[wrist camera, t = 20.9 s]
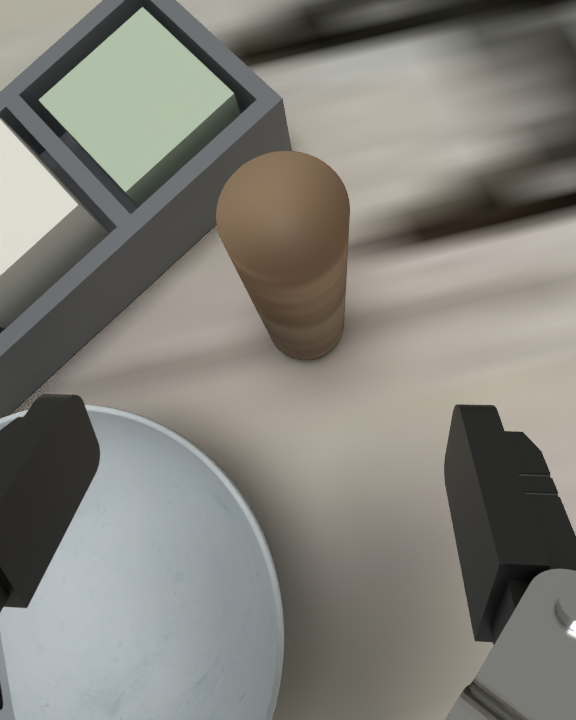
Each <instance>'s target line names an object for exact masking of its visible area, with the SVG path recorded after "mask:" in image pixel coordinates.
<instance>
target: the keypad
mask: <svg viewBox="0 0 576 720" xmlns="http://www.w3.org/2000/svg"><path fill="white" fill-rule="evenodd" d="M142 7H143V8H144V9H145V10H146V11H147V12H149V13H150V14H151V15H152V16H153V17H154V18H155V19H156V20H157V21H158V22H159V23H160V24H161V25H162V26H163V27H164V28H165V29H167V30H168V31H169V32H170V33H171V34H172V35H173V36H174V37H175V38H176V39H177V40H178V41H179V42H180V43H181V44H182V45H184V46H185V47H186V48H187V49H188V50H189V51H190V52H191V53H192V54H193V55H194V56H195V57H196V58H197V59H198V60H199V61H201V62H202V63H203V64H204V65H205V66H206V67H207V68H208V69H209V70H210V71H211V72H212V73H213V74H214V75H215V76H216V77H217V78H219V79H220V80H221V81H222V82H223V83H224V84H225V85H226V86H227V87H228V88H229V89H230V90H231V91H232V92H233V93H234V94H235V97H236V101H237V104H238V107H239V110H240V113H241V114H240V115H239V116H238V117H237V118H236V119H235V120H234V121H233V122H232V123H231V124H230V125H228V126H227V127H226V128H225V129H224V130H223V131H222V132H221V133H220V134H219V135H217V136H216V137H215V138H214V139H213V140H212V141H211V142H210V143H209V144H208V145H206V146H205V147H204V148H203V149H202V150H201V151H200V152H199V153H198V154H197V155H196V156H194V157H193V158H192V159H191V160H190V161H189V162H188V163H187V164H186V165H185V166H183V167H182V168H181V169H180V170H179V171H178V172H177V173H176V174H175V175H174V176H172V177H171V178H170V179H169V180H168V181H167V182H166V183H165V184H164V185H163V186H161V187H160V188H159V189H158V190H157V191H156V192H155V193H154V194H153V195H152V196H151V197H149V198H148V199H147V200H146V201H145V202H144V203H143V204H142V205H141V206H140V207H138V208H137V207H136V205H135V204H134V203H133V202H132V201H131V200H130V199H129V198H128V197H127V196H126V195H125V194H124V193H123V192H122V191H121V190H120V189H119V187H118V186H117V185H116V184H115V183H114V182H113V181H112V180H111V179H110V178H109V177H108V176H107V175H106V174H105V173H104V172H103V171H102V169H101V168H100V167H99V166H98V165H97V164H96V163H95V162H94V161H93V160H92V159H91V158H90V157H89V156H88V155H87V154H86V152H85V151H84V150H83V149H82V148H81V147H80V146H79V145H78V144H77V143H76V142H75V141H74V140H73V138H72V137H71V136H70V135H69V134H68V133H67V132H66V131H65V129H64V128H63V127H62V126H61V125H60V124H59V123H58V122H57V120H56V119H55V118H54V117H53V116H52V115H51V114H50V113H49V111H48V110H47V109H46V108H45V107H44V106H43V105H42V104H41V102H40V101H39V99H40V98H41V97H42V96H43V95H45V94H46V93H47V92H48V91H49V90H50V89H51V88H52V87H54V86H55V85H56V84H57V83H58V82H59V81H60V80H61V79H62V78H64V77H65V76H66V75H67V74H68V73H69V72H70V71H71V70H73V69H74V68H75V67H76V66H77V65H78V64H79V63H80V62H81V61H83V60H84V59H85V58H86V57H87V56H88V55H89V54H90V53H91V52H93V51H94V50H95V49H96V48H97V47H98V46H99V45H100V44H102V43H103V42H104V41H105V40H106V39H107V38H108V37H109V36H110V35H112V34H113V33H114V32H115V31H116V30H117V29H118V28H119V27H121V26H122V25H123V24H124V23H125V22H126V21H127V20H128V19H129V18H131V17H132V16H133V15H134V14H135V13H136V12H137V11H138V10H140V9H141V8H142ZM0 118H1V119H2V120H3V121H4V122H5V123H6V124H8V125H9V126H10V127H11V128H12V129H13V130H14V131H15V132H16V133H17V134H18V135H19V136H20V137H21V138H22V139H23V140H24V141H25V142H26V143H28V144H29V145H30V146H31V147H32V148H33V149H34V150H35V151H36V152H37V153H38V154H39V156H40V157H41V158H42V159H43V160H44V161H45V162H46V163H47V164H48V165H49V166H50V168H51V169H52V170H53V171H54V172H55V173H56V174H57V175H58V176H59V177H60V178H61V180H62V181H63V182H64V183H65V184H66V185H67V186H68V187H69V188H70V189H71V190H72V192H73V193H74V194H75V195H76V196H77V197H78V198H79V199H80V200H81V201H82V202H83V204H84V205H85V206H86V207H87V208H88V209H89V210H90V211H91V212H92V213H93V214H94V216H95V217H96V218H97V219H98V220H99V221H100V222H101V223H102V224H103V225H104V226H105V228H106V229H107V230H108V231H109V232H110V234H109V235H108V236H107V237H106V238H104V239H103V240H102V241H101V242H100V243H99V244H98V245H97V246H96V247H95V248H93V249H92V250H91V251H90V252H89V253H88V254H87V255H86V256H85V257H84V258H83V259H81V260H80V261H79V262H78V263H77V264H76V265H75V266H74V267H73V268H72V269H70V270H69V271H68V272H67V273H66V274H65V275H64V276H63V277H62V278H61V279H59V280H58V281H57V282H56V283H55V284H54V285H53V286H52V287H51V288H50V289H49V290H47V291H46V292H45V293H44V294H43V295H42V296H41V297H40V298H39V299H38V300H36V301H35V302H34V303H33V304H32V305H31V306H30V307H29V308H28V309H27V310H25V311H24V312H23V313H22V314H21V315H20V316H19V317H18V318H17V319H16V320H15V321H13V322H12V323H11V324H10V325H9V326H8V327H7V328H6V329H5V328H2V327H0V419H1V418H3V417H6V416H8V415H9V414H10V413H12V412H13V411H14V410H15V409H16V408H17V407H18V406H19V405H20V404H21V403H22V402H24V401H25V400H26V399H27V398H28V397H29V396H30V395H31V394H32V393H33V392H34V391H36V390H37V389H38V388H39V387H40V386H41V385H42V384H43V383H44V382H45V381H46V380H47V379H49V378H50V377H51V376H52V375H53V374H54V373H55V372H56V371H57V370H58V369H59V368H61V367H62V366H63V365H64V364H65V363H66V362H67V361H68V360H69V359H70V358H71V357H73V356H74V355H75V354H76V353H77V352H78V351H79V350H80V349H81V348H82V347H83V346H84V345H86V344H87V343H88V342H89V341H90V340H91V339H92V338H93V337H94V336H95V335H96V334H98V333H99V332H100V331H101V330H102V329H103V328H104V327H105V326H106V325H107V324H108V323H110V322H111V321H112V320H113V319H114V318H115V317H116V316H117V315H118V314H119V313H120V312H122V311H123V310H124V309H125V308H126V307H127V306H128V305H129V304H130V303H131V302H132V301H133V300H135V299H136V298H137V297H138V296H139V295H140V294H141V293H142V292H143V291H144V290H145V289H147V288H148V287H149V286H150V285H151V284H152V283H153V282H154V281H155V280H156V279H157V278H159V277H160V276H161V275H162V274H163V273H164V272H165V271H166V270H167V269H168V268H169V267H170V266H172V265H173V264H174V263H175V262H176V261H177V260H178V259H179V258H180V257H181V256H182V255H184V254H185V253H186V252H187V251H188V250H189V249H190V248H191V247H192V246H193V245H194V244H196V243H197V242H198V241H199V240H200V239H201V238H202V237H203V236H204V235H205V234H206V233H207V232H209V231H210V230H211V229H212V228H213V227H214V226H215V225H216V224H217V223H216V209H217V203H218V199H219V196H220V194H221V191H222V189H223V187H224V186H225V184H226V182H227V181H228V179H229V178H230V177H231V176H232V175H233V173H234V172H235V171H236V170H237V169H239V168H240V167H241V166H242V165H244V164H245V163H247V162H248V161H250V160H252V159H254V158H256V157H258V156H261V155H264V154H267V153H271V152H277V151H292V150H291V144H290V138H289V133H288V127H287V122H286V116H285V110H284V105H283V99H282V98H281V97H280V96H279V95H278V94H277V93H276V92H275V91H274V90H272V89H271V88H270V87H269V86H268V85H267V84H266V83H265V82H264V81H263V80H262V79H261V78H259V77H258V76H257V75H256V74H255V73H254V72H253V71H252V70H251V69H250V68H249V67H248V66H246V65H245V64H244V63H243V62H242V61H241V60H240V59H239V58H238V57H237V56H236V55H234V54H233V53H232V52H231V51H230V50H229V49H228V48H227V47H226V46H225V45H224V44H223V43H221V42H220V41H219V40H218V39H217V38H216V37H215V36H214V35H213V34H212V33H211V32H210V31H208V30H207V29H206V28H205V27H204V26H203V25H202V24H201V23H200V22H199V21H198V20H197V19H195V18H194V17H193V16H192V15H191V14H190V13H189V12H188V11H187V10H186V9H185V8H183V7H182V6H181V5H180V4H179V3H178V2H177V1H176V0H103V1H102V2H101V3H99V4H98V5H97V6H96V7H95V8H94V9H93V10H92V11H91V12H89V13H88V14H87V15H86V16H85V17H84V18H83V19H82V20H80V21H79V22H78V23H77V24H76V25H75V26H74V27H73V28H71V29H70V30H69V31H68V32H67V33H66V34H65V35H64V36H63V37H61V38H60V39H59V40H58V41H57V42H56V43H55V44H54V45H52V46H51V47H50V48H49V49H48V50H47V51H46V52H45V53H43V54H42V55H41V56H40V57H39V58H38V59H37V60H36V61H34V62H33V63H32V64H31V65H30V66H29V67H28V68H27V69H26V70H24V71H23V72H22V73H21V74H20V75H19V76H18V77H17V78H15V79H14V80H13V81H12V82H11V83H10V84H9V85H8V86H6V87H5V88H4V89H3V90H2V91H1V92H0Z"/></svg>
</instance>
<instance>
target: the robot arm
mask: <svg viewBox="0 0 576 720" xmlns="http://www.w3.org/2000/svg"><path fill="white" fill-rule="evenodd" d="M99 461H100V447H99V443H98V440H97V437H96V435H95V432H94V429H93V426H92V424H91V421H90V418H89V416H88V413H87V410H86V407H85V405H84V402H83V400H82V399H81V397H80V396H78V395H54V394H44V395H41V396H39V397H38V398H37V399H36V401H35V402H34V403H33V405H32V406H31V407H30V409H29V410H28V411H27V413H26V414H25V416H24V417H17V418H16V419H14V420H13V421H12V422H10V423H9V424H8V425H6V426H5V427H4V428H2V429H1V430H0V612H1V611H2V609H3V607H15V608H27V607H28V605H29V603H30V602H31V600H32V598H33V596H34V594H35V592H36V590H37V588H38V586H39V584H40V582H41V580H42V578H43V576H44V574H45V572H46V570H47V568H48V566H49V564H50V562H51V560H52V558H53V556H54V554H55V553H56V551H57V549H58V547H59V545H60V543H61V541H62V539H63V537H64V535H65V533H66V531H67V529H68V527H69V525H70V523H71V521H72V519H73V517H74V515H75V513H76V511H77V509H78V507H79V505H80V503H81V502H82V500H83V498H84V496H85V494H86V492H87V490H88V488H89V486H90V484H91V482H92V480H93V478H94V476H95V474H96V472H97V469H98V466H99ZM444 474H445V486H446V491H447V497H448V502H449V507H450V512H451V518H452V523H453V528H454V533H455V539H456V544H457V549H458V555H459V560H460V565H461V570H462V576H463V581H464V586H465V592H466V597H467V602H468V607H469V613H470V618H471V623H472V629H473V634H474V639H475V641H483V642H493V644H494V646H493V648H492V650H491V651H490V653H489V655H488V657H487V658H486V660H485V662H484V663H483V665H482V667H481V669H480V670H479V672H478V674H477V675H476V677H475V679H474V680H473V682H472V683H471V684H470V685H468V686H467V687H466V688H465V689H464V691H463V692H462V693H461V695H460V696H459V698H458V700H457V701H456V703H455V705H454V706H453V708H452V710H451V711H450V713H449V715H448V716H447V718H446V720H576V536H575V533H574V531H573V528H572V526H571V524H570V521H569V519H568V516H567V514H566V511H565V509H564V506H563V504H562V501H561V499H560V497H558V491H557V489H556V486H555V484H554V482H553V479H552V478H550V472H549V469H548V467H547V464H546V462H545V459H544V457H543V454H542V452H541V451H540V450H539V448H538V447H537V446H536V445H535V444H534V443H533V442H532V441H531V440H530V439H529V438H528V437H527V436H526V435H525V434H524V433H523V432H509V431H504V428H503V426H502V423H501V420H500V417H499V414H498V411H497V409H496V407H495V406H493V405H455V407H454V410H453V415H452V421H451V426H450V432H449V438H448V443H447V449H446V454H445V464H444ZM0 720H16V719H15V716H14V711H13V706H12V700H11V694H10V688H9V682H8V676H7V670H6V664H5V658H4V652H3V646H2V640H1V634H0Z"/></svg>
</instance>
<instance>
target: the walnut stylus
mask: <svg viewBox="0 0 576 720" xmlns="http://www.w3.org/2000/svg"><path fill="white" fill-rule="evenodd" d="M349 217H350V205H349V198H348V194H347V191H346V188H345V186H344V184H343V182H342V180H341V179H340V177H339V176H338V175H337V173H336V172H335V171H334V170H333V169H332V168H331V167H330V166H328V165H327V164H326V163H325V162H323V161H321V160H320V159H318V158H316V157H313V156H311V155H309V154H305V153H301V152H295V151H277V152H271V153H267V154H264V155H261V156H258V157H256V158H254V159H252V160H250V161H248V162H247V163H245V164H244V165H242V166H241V167H240V168H239V169H237V170H236V171H235V172H234V173H233V175H232V176H231V177H230V178H229V179H228V181H227V182H226V184H225V186H224V187H223V189H222V191H221V194H220V196H219V199H218V203H217V209H216V223H217V229H218V232H219V236H220V238H221V240H222V242H223V244H224V246H225V248H226V250H227V252H228V254H229V256H230V258H231V260H232V262H233V264H234V266H235V268H236V270H237V272H238V274H239V276H240V278H241V280H242V282H243V284H244V286H245V288H246V290H247V292H248V294H249V296H250V298H251V300H252V302H253V304H254V305H255V307H256V309H257V311H258V313H259V315H260V317H261V319H262V321H263V323H264V325H265V327H266V329H267V331H268V333H269V335H270V337H271V339H272V341H273V342H274V344H275V345H276V346H277V348H278V349H279V350H281V351H282V352H283V353H285V354H286V355H288V356H290V357H293V358H297V359H314V358H317V357H320V356H322V355H324V354H326V353H328V352H329V351H330V350H331V349H333V347H334V346H335V345H336V344H337V343H338V341H339V339H340V337H341V335H342V332H343V328H344V312H345V293H346V274H347V255H348V236H349Z"/></svg>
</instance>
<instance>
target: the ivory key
mask: <svg viewBox="0 0 576 720" xmlns="http://www.w3.org/2000/svg"><path fill="white" fill-rule="evenodd" d="M109 234H110V232H109V231H108V230H107V229H106V228H105V226H104V225H103V224H102V223H101V222H100V221H99V220H98V219H97V218H96V217H95V216H94V214H93V213H92V212H91V211H90V210H89V209H88V208H87V207H86V206H85V205H84V204H83V202H82V201H81V200H80V199H79V198H78V197H77V196H76V195H75V194H74V193H73V192H72V190H71V189H70V188H69V187H68V186H67V185H66V184H65V183H64V182H63V181H62V180H61V178H60V177H59V176H58V175H57V174H56V173H55V172H54V171H53V170H52V169H51V168H50V166H49V165H48V164H47V163H46V162H45V161H44V160H43V159H42V158H41V157H40V156H39V154H38V153H37V152H36V151H35V150H34V149H33V148H32V147H31V146H30V145H29V144H28V143H26V142H25V141H24V140H23V139H22V138H21V137H20V136H19V135H18V134H17V133H16V132H15V131H14V130H13V129H12V128H11V127H10V126H9V125H8V124H6V123H5V122H4V121H3V120H2V119H1V118H0V327H2V328H5V329H6V328H7V327H8V326H9V325H10V324H11V323H12V322H13V321H15V320H16V319H17V318H18V317H19V316H20V315H21V314H22V313H23V312H24V311H25V310H27V309H28V308H29V307H30V306H31V305H32V304H33V303H34V302H35V301H36V300H38V299H39V298H40V297H41V296H42V295H43V294H44V293H45V292H46V291H47V290H49V289H50V288H51V287H52V286H53V285H54V284H55V283H56V282H57V281H58V280H59V279H61V278H62V277H63V276H64V275H65V274H66V273H67V272H68V271H69V270H70V269H72V268H73V267H74V266H75V265H76V264H77V263H78V262H79V261H80V260H81V259H83V258H84V257H85V256H86V255H87V254H88V253H89V252H90V251H91V250H92V249H93V248H95V247H96V246H97V245H98V244H99V243H100V242H101V241H102V240H103V239H104V238H106V237H107V236H108V235H109Z"/></svg>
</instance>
